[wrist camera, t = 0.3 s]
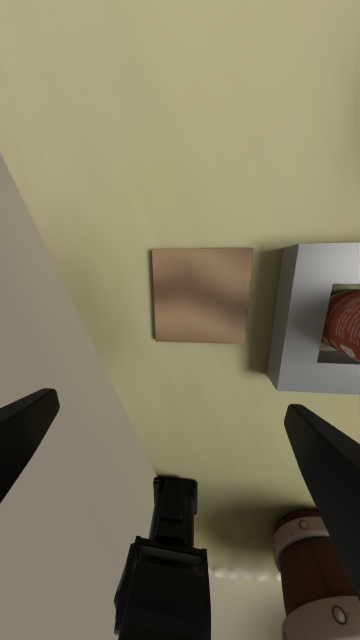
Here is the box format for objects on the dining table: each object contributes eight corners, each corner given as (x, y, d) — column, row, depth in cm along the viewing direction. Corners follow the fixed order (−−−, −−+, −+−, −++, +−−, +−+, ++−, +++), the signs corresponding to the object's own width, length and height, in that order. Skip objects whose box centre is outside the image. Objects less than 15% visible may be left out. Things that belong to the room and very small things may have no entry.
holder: (397, 380, 20) (430, 398, 18) (266, 374, 22) (277, 390, 19) (443, 245, 17) (494, 240, 14) (283, 248, 18) (299, 243, 15)
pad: (243, 342, 21) (244, 344, 20) (156, 339, 22) (155, 341, 21) (251, 248, 18) (253, 247, 18) (153, 250, 19) (152, 249, 19)
